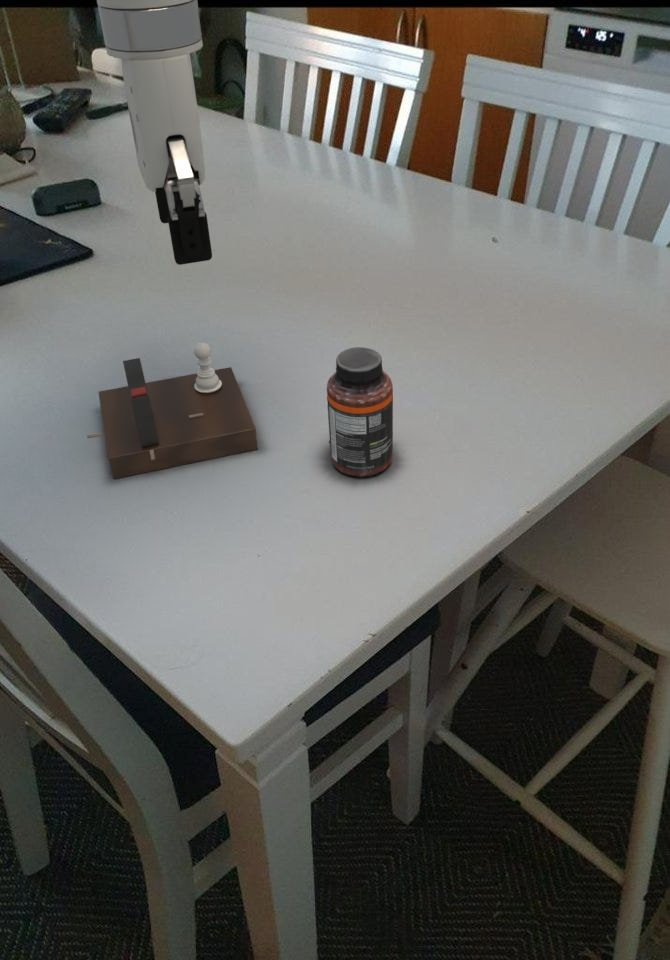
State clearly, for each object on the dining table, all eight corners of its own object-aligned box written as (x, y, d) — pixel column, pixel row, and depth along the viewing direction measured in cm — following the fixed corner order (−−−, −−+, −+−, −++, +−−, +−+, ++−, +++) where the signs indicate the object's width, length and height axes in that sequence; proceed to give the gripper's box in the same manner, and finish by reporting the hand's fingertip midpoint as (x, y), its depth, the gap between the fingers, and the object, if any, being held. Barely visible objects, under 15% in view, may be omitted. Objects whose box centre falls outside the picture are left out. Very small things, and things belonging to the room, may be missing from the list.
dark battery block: (133, 408, 81) (122, 358, 77) (149, 405, 81) (139, 355, 78) (142, 447, 76) (130, 396, 72) (159, 444, 76) (148, 393, 72)
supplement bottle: (352, 434, 81) (350, 333, 73) (404, 453, 78) (406, 351, 71) (318, 466, 77) (311, 363, 70) (371, 487, 74) (370, 383, 67)
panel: (97, 493, 75) (91, 471, 73) (88, 414, 85) (82, 392, 83) (261, 458, 78) (259, 436, 76) (233, 386, 88) (231, 365, 86)
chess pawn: (195, 395, 82) (188, 353, 79) (193, 381, 85) (186, 339, 81) (223, 392, 83) (217, 349, 80) (220, 377, 85) (214, 335, 82)
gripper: (95, 13, 69) (133, 212, 79) (112, 56, 56) (156, 286, 66) (183, 5, 70) (209, 201, 81) (220, 45, 57) (245, 272, 68)
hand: (185, 239), depth 74 cm, fingers open, 9 cm apart
